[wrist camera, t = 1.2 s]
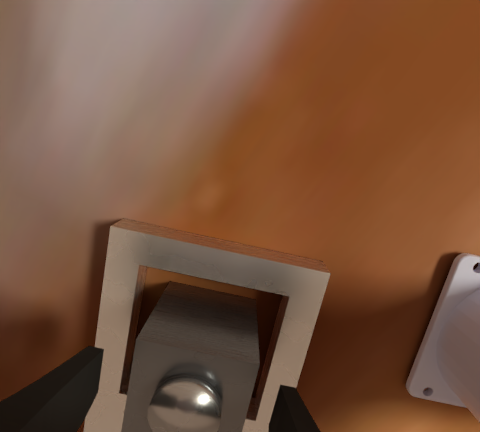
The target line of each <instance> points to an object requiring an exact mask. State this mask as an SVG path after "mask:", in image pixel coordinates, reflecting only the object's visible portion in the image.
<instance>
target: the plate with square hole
mask: <svg viewBox="0 0 480 432" xmlns="http://www.w3.org/2000/svg"><path fill="white" fill-rule="evenodd" d="M147 266H148V267H153V268H158V269H162V270H167V271H172V272H176V273H181V274H186V275H191V276H195V277H200V278H205V279H209V280H214V281H219V282H224V283H228V284H233V285H238V286H242V287H247V288H252V289H256V290H261V291H266V292H271V293H275V294H280V295H282V299H281V302H280V306H279V310H278V314H277V317H276V321H275V325H274V328H273V332H272V336H271V340H270V343H269V347H268V351H267V355H266V358H265V362H264V366H263V369H262V373H261V377H260V381H259V384H258V388H257V392H256V396H255V398H253V397H251V400H250V404H249V407H248V411H247V415H246V419H245V422H244V426H243V430H242V432H269V422H270V419H271V415H272V412H273V408H274V405H275V401H276V398H277V394H278V391H279V387H280V385H285V386H290V387H295V388H296V387H297V384H298V380H299V377H300V374H301V370H302V367H303V364H304V360H305V357H306V354H307V350H308V347H309V344H310V340H311V337H312V334H313V330H314V327H315V324H316V320H317V317H318V314H319V310H320V307H321V304H322V300H323V297H324V294H325V290H326V287H327V284H328V280H329V277H330V274H331V273H330V272H329V270H328V269H327V267H326V266H325V264H324V263H323V261H318V260H313V259H309V258H304V257H300V256H295V255H290V254H286V253H281V252H276V251H272V250H267V249H262V248H258V247H253V246H249V245H244V244H239V243H235V242H230V241H225V240H221V239H216V238H211V237H207V236H202V235H197V234H193V233H188V232H184V231H179V230H174V229H170V228H165V227H160V226H156V225H151V224H146V223H142V222H137V221H133V220H128V219H122V220H120V221H119V222H117V223H115V224H113V225H111V226H110V233H109V241H108V248H107V256H106V264H105V271H104V279H103V287H102V294H101V302H100V310H99V317H98V325H97V333H96V340H95V347H97V348H102V349H104V353H103V360H102V367H101V374H100V382H99V389H98V393H97V395H96V397H95V399H94V401H93V403H92V406H91V408H90V409H89V411H88V413H87V415H86V417H85V425H84V432H121V429H122V423H123V417H124V411H125V405H126V399H127V392H128V386H129V380H130V374H131V372H130V370H131V363H132V357H133V351H134V345H135V339H136V332H137V326H138V320H139V314H140V308H141V302H142V295H143V289H144V283H145V277H146V271H147Z"/></svg>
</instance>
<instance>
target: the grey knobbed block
mask: <svg viewBox="0 0 480 432" xmlns="http://www.w3.org/2000/svg"><path fill="white" fill-rule="evenodd" d="M259 366H260V360H259V343H258V325H257V308H256V299H252V298H247V297H243V296H238V295H233V294H228V293H224V292H219V291H214V290H210V289H205V288H200V287H195V286H191V285H186V284H181V283H176V282H172V281H170V282H169V284H168V285H167V287H166V289H165V291H164V292H163V294H162V296H161V297H160V299H159V301H158V303H157V304H156V306H155V308H154V309H153V311H152V313H151V315H150V316H149V318H148V320H147V321H146V323H145V325H144V327H143V328H142V330H141V332H140V333H139V335H138V337H137V339H136V343H135V349H134V355H133V362H132V368H131V374H130V380H129V386H128V392H127V399H126V405H125V411H124V417H123V423H122V429H121V432H242V430H243V426H244V422H245V419H246V415H247V411H248V407H249V404H250V400H251V396H252V392H253V388H254V385H255V381H256V377H257V373H258V370H259Z"/></svg>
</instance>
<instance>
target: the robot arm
mask: <svg viewBox="0 0 480 432" xmlns="http://www.w3.org/2000/svg"><path fill="white" fill-rule="evenodd" d="M476 263H478V267H477V268H476V269H474V270H473V266H474V265H475V264H476ZM103 353H104V349H102V348H97V347H92V346H88V347H86V348H85V349H83V350H82V351H80V352H79V353H77V354H76V355H75V356H73V357H72V358H70V359H69V360H67V361H66V362H64V363H63V364H61V365H60V366H58V367H57V368H55V369H54V370H52V371H51V372H49V373H48V374H46V375H45V376H43V377H42V378H40V379H39V380H37V381H35V382H34V383H32V384H30V385H29V386H27V387H25V388H24V389H22V390H20V391H19V392H17V393H15V394H14V395H12V396H10V397H8V398H7V399H5V400H3V401H1V402H0V432H77V430H78V429H79V427H80V426H81V424H82V422H83V421H84V419H85V417H86V415H87V413H88V411H89V409H90V408H91V406H92V403H93V401H94V399H95V397H96V395H97V393H98V389H99V382H100V374H101V367H102V360H103ZM425 388H428V389H426V390H424V389H425ZM406 389H407V391H408V392H409V394H410V395H411V396H413V397H417V398H422V399H426V400H431V401H436V402H441V403H446V404H450V405H455V406H460V407H465V408H468V409H469V411H470V412H471V413H472V414H473V415H474V417H475V418H476V419H477V420H478V421H479V422H480V256H477V255H473V254H468V253H462V254H459V255H458V256H457V257H456V258H455V259H454V261H453V264H452V266H451V269H450V271H449V274H448V276H447V279H446V282H445V284H444V287H443V289H442V292H441V294H440V297H439V300H438V302H437V305H436V307H435V310H434V312H433V315H432V318H431V320H430V323H429V325H428V328H427V330H426V333H425V336H424V338H423V341H422V343H421V346H420V348H419V351H418V354H417V356H416V359H415V361H414V364H413V366H412V369H411V372H410V374H409V377H408V379H407V382H406ZM269 432H320V430H319V428H318V427H317V425H316V423H315V422H314V420H313V418H312V417H311V415H310V413H309V411H308V410H307V408H306V406H305V404H304V402H303V401H302V399H301V397H300V395H299V393H298V392H297V390H296V388H295V387H290V386H285V385H280V387H279V391H278V394H277V398H276V401H275V405H274V408H273V412H272V415H271V419H270V422H269Z"/></svg>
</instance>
